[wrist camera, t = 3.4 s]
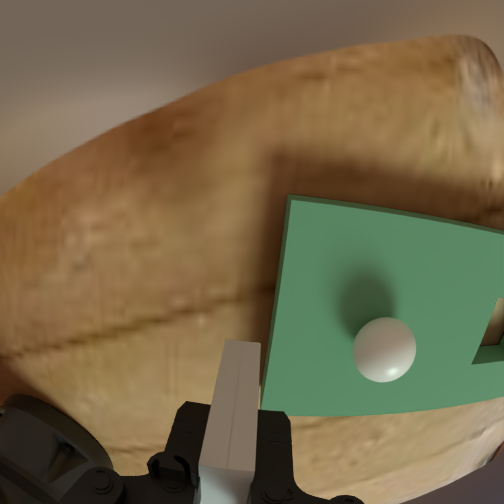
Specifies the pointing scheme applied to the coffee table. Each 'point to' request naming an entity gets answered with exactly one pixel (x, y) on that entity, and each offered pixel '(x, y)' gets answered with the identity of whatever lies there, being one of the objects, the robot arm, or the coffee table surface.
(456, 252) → the green
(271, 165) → the coffee table surface
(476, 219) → the coffee table surface
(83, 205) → the coffee table surface
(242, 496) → the robot arm
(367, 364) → the ball
